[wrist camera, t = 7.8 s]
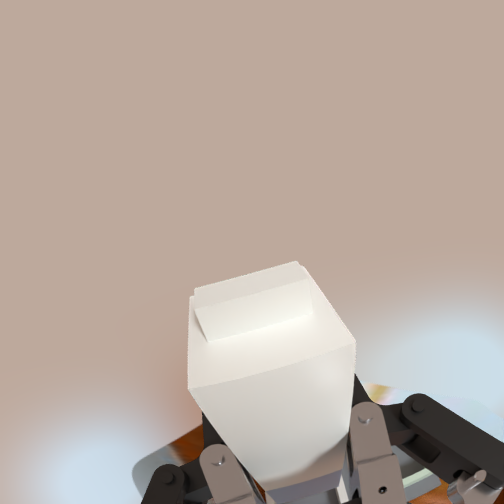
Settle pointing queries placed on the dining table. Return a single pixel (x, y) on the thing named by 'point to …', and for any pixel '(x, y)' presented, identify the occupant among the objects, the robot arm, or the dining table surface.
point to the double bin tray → (413, 478)
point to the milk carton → (274, 377)
